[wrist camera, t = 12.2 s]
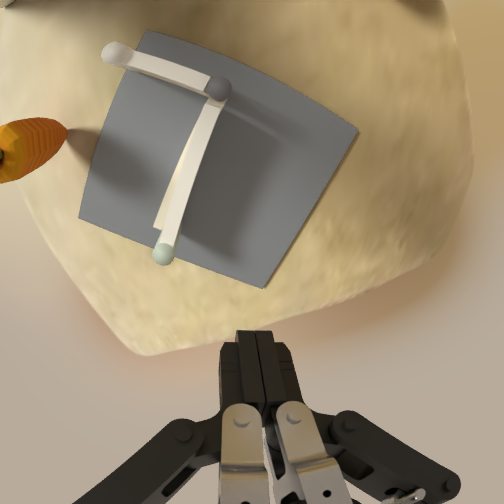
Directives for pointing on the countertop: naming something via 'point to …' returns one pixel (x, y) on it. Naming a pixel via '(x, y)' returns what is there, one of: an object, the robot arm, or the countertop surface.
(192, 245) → the card
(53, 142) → the carrot
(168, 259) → the fence gate
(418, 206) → the countertop surface
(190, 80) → the bar
